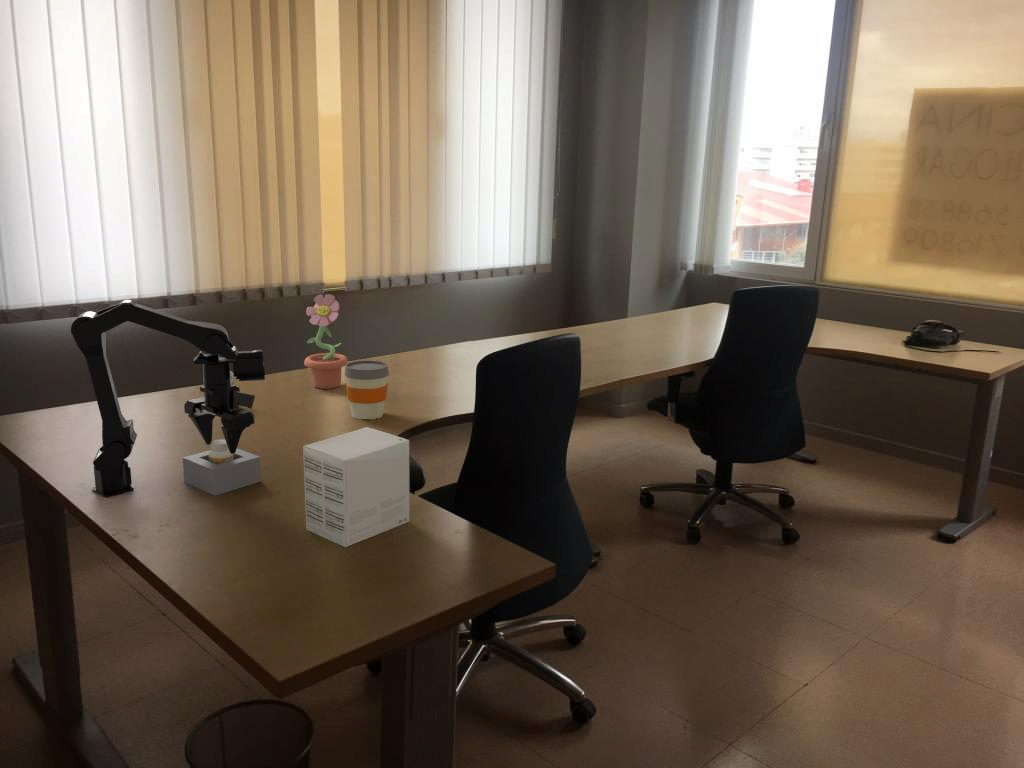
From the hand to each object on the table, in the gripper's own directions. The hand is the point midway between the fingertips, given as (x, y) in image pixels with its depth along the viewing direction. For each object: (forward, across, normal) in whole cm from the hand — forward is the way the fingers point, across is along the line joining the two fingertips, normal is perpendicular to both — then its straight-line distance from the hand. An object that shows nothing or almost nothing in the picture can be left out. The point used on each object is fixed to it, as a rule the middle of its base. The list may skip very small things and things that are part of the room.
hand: (220, 448), depth 198 cm
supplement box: (+8, -41, -4) cm, 42 cm away
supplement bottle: (+8, 0, 0) cm, 8 cm away
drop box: (+8, 0, 0) cm, 8 cm away
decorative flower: (+8, +50, -72) cm, 88 cm away
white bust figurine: (+8, +52, -36) cm, 64 cm away
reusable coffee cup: (+8, +16, -59) cm, 62 cm away
